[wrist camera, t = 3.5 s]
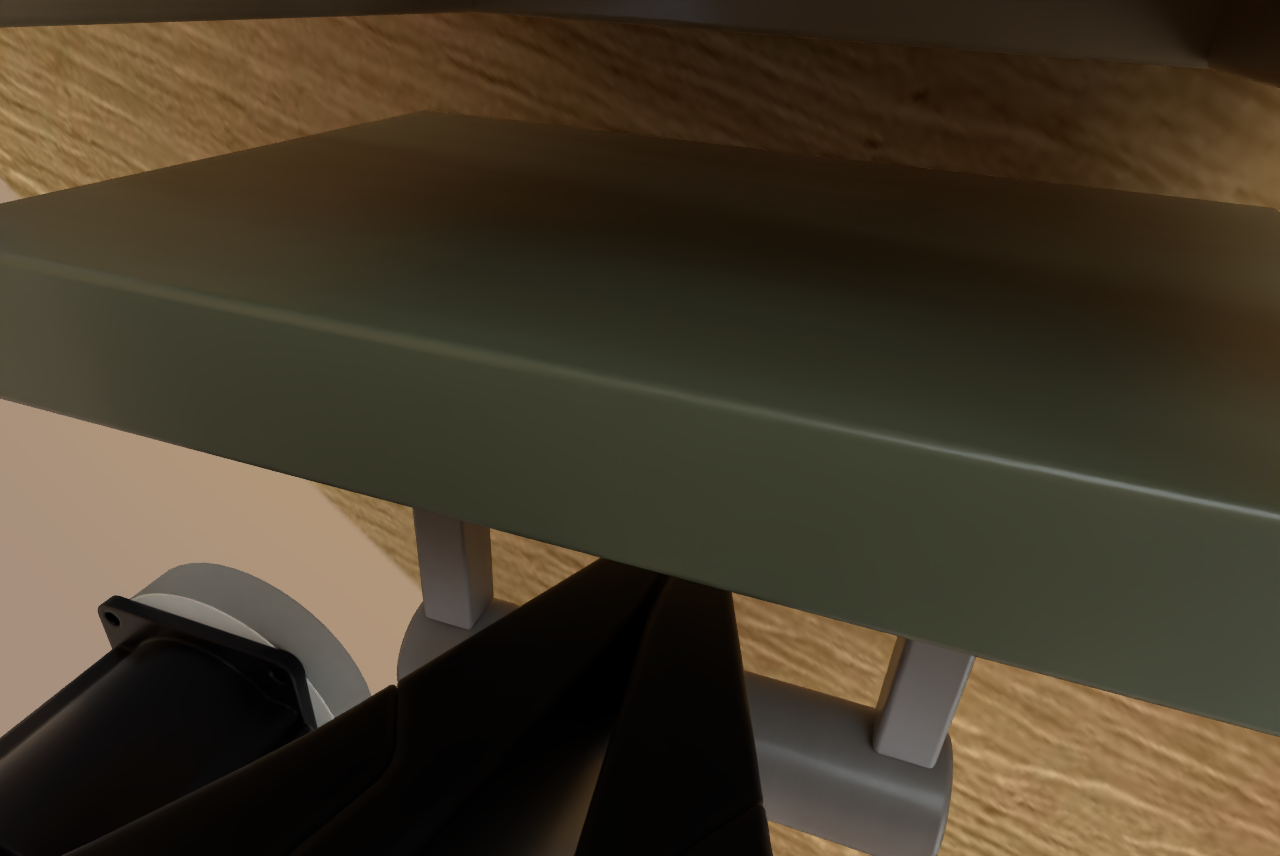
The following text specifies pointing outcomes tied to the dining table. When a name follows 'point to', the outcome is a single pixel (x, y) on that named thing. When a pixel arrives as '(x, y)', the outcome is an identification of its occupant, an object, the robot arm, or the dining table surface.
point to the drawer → (729, 372)
